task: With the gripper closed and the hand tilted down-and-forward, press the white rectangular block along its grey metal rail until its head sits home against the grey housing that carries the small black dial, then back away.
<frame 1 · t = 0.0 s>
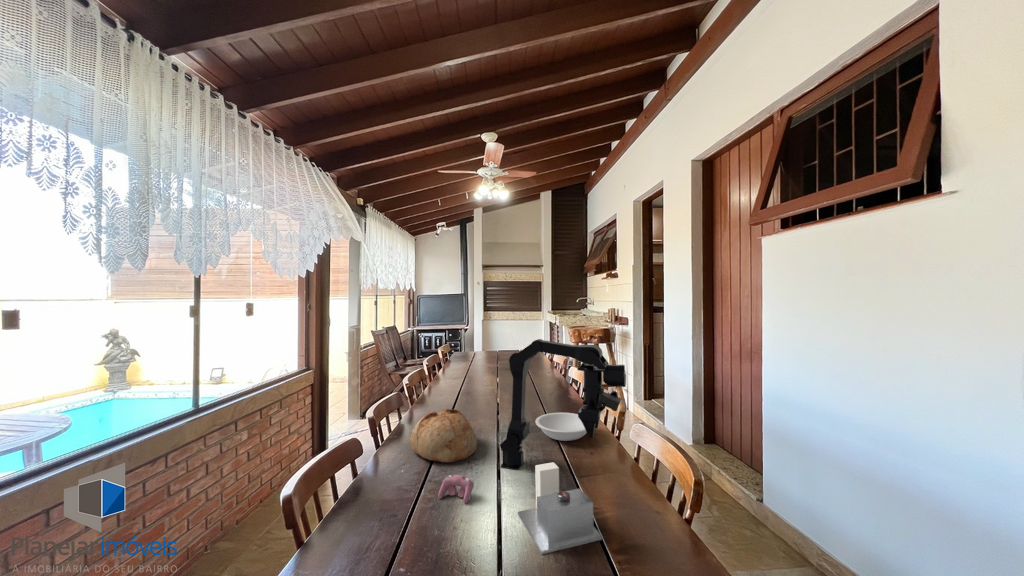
hand: (593, 433, 121), 15 cm above the table, tool pointing down, fingers open, 9 cm apart
video game controller: (456, 498, 111), on the table
mount: (550, 516, 101), on the table
white rectangular block: (552, 493, 100), point 7 cm above the table, slide at 0.0 cm
bread: (444, 451, 144), on the table
soup bowl: (564, 437, 156), on the table
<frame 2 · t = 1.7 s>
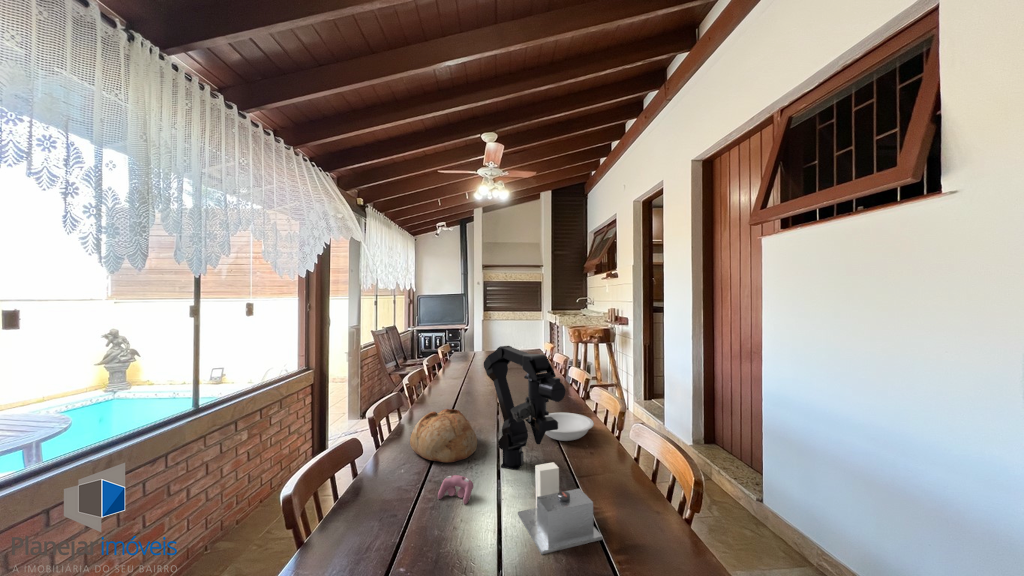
hand: (537, 443, 120), 12 cm above the table, tool pointing down, fingers closed
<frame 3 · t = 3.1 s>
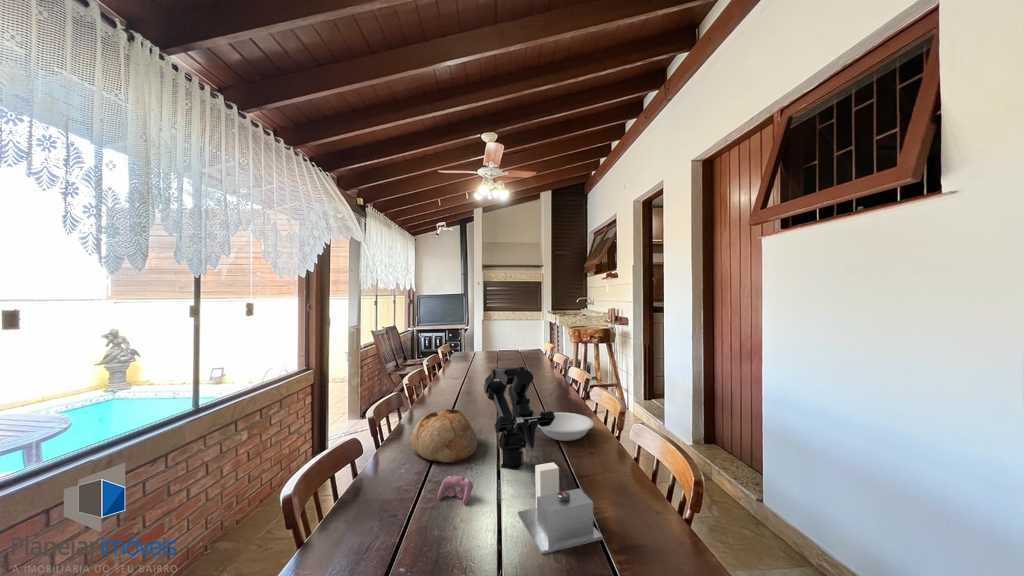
hand: (532, 447, 113), 13 cm above the table, tool tilted 45°, fingers closed
nothing on the table moved.
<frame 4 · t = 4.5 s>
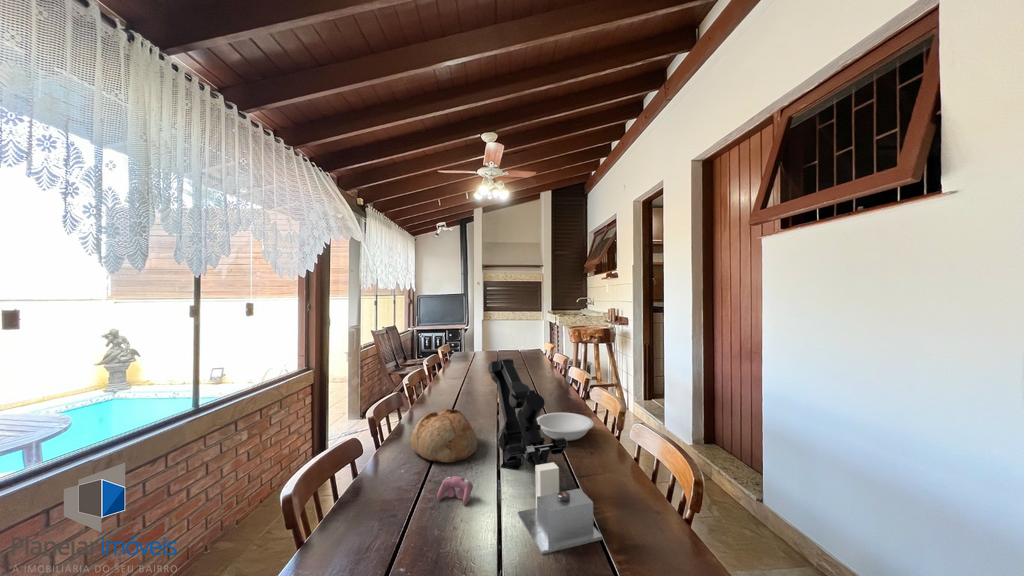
hand: (544, 479, 105), 8 cm above the table, tool tilted 45°, fingers closed, pressing on white rectangular block
white rectangular block: (552, 493, 100), point 7 cm above the table, slide at 0.0 cm, touching gripper
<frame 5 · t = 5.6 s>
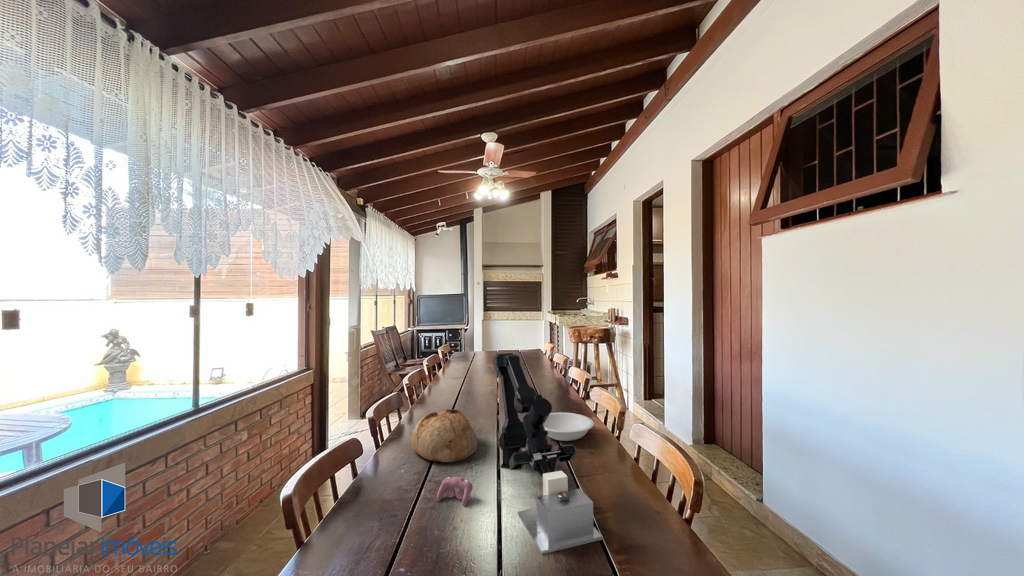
hand: (552, 488, 100), 8 cm above the table, tool tilted 45°, fingers closed, pressing on white rectangular block
white rectangular block: (560, 503, 95), point 7 cm above the table, slide at 5.2 cm, touching gripper, mount
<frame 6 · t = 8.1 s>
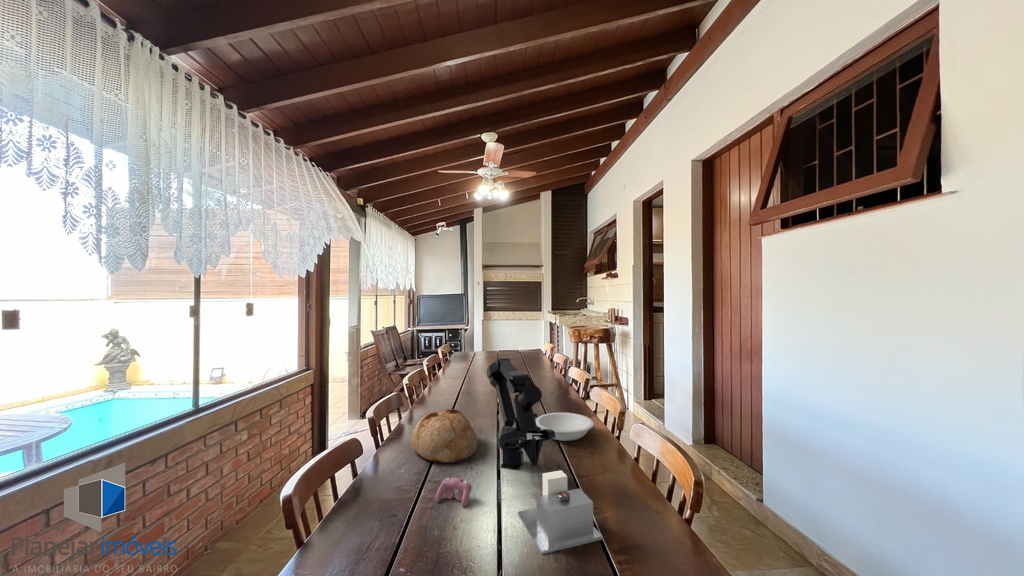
hand: (535, 466, 111), 9 cm above the table, tool tilted 30°, fingers closed
white rectangular block: (560, 503, 95), point 7 cm above the table, slide at 5.0 cm
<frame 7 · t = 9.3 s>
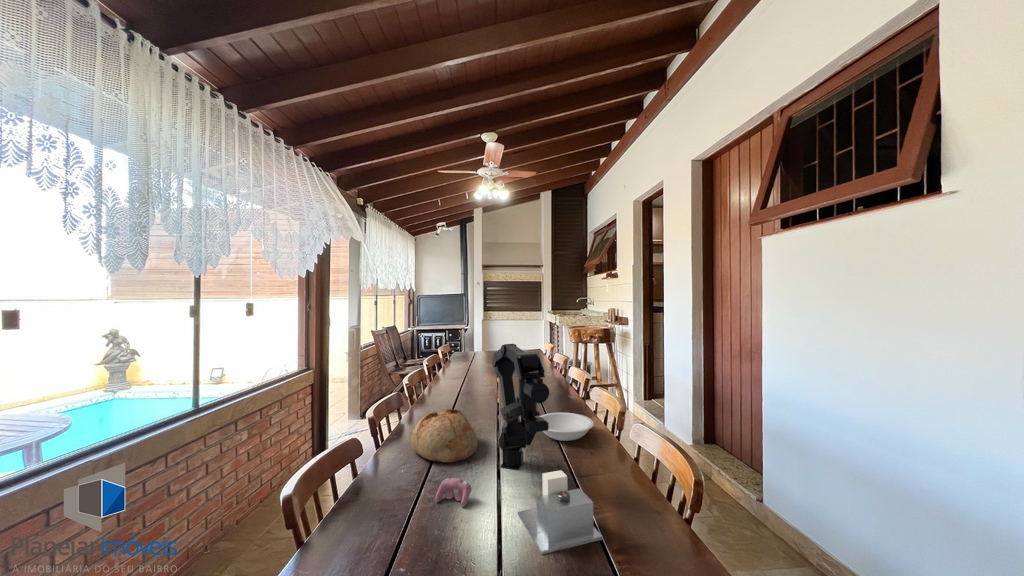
hand: (528, 444, 116), 13 cm above the table, tool pointing down, fingers closed
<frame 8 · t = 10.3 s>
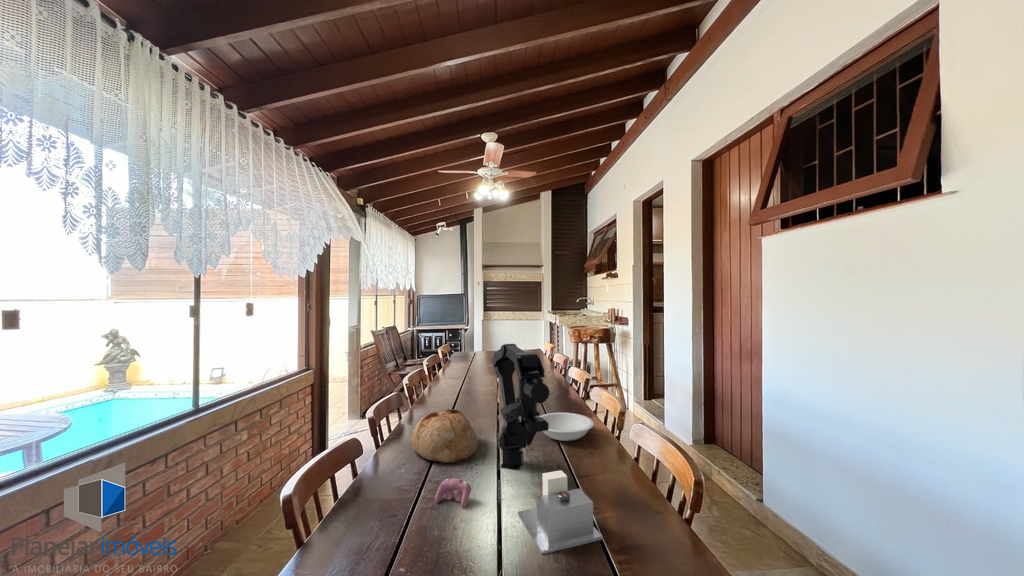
hand: (528, 444, 116), 13 cm above the table, tool pointing down, fingers closed
at the end: white rectangular block slide at 5.0 cm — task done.
